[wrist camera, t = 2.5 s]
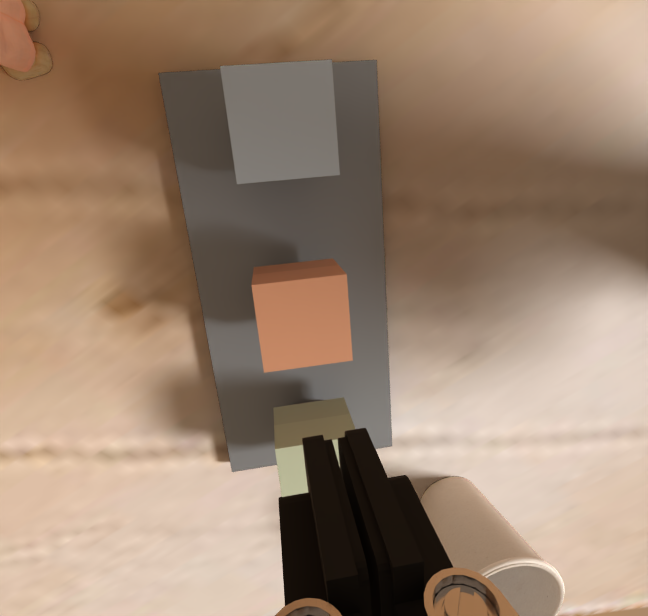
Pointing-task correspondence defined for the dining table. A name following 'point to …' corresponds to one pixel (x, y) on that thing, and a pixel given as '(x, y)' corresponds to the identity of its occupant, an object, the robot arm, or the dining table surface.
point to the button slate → (281, 120)
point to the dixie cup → (491, 547)
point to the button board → (283, 256)
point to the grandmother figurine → (21, 41)
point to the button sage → (302, 423)
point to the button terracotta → (302, 314)
